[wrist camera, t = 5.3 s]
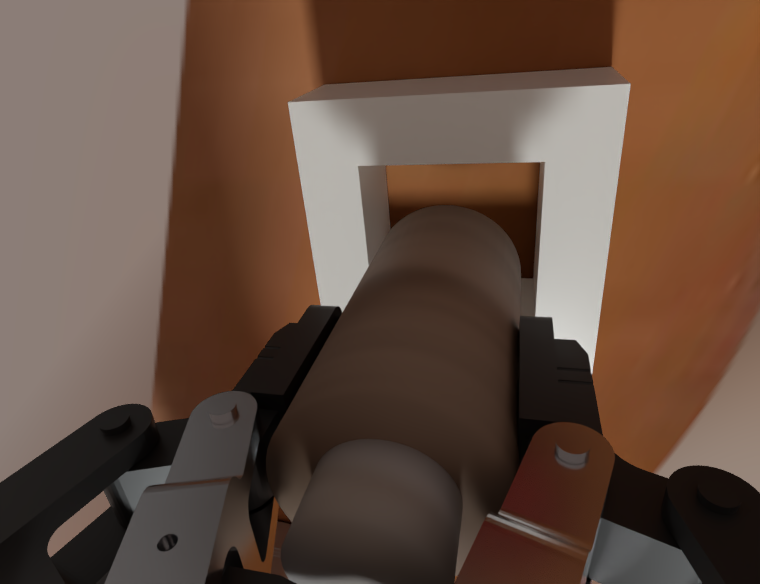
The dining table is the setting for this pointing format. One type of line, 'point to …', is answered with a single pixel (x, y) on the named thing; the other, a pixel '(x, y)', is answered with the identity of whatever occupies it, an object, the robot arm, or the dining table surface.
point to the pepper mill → (406, 410)
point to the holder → (465, 146)
